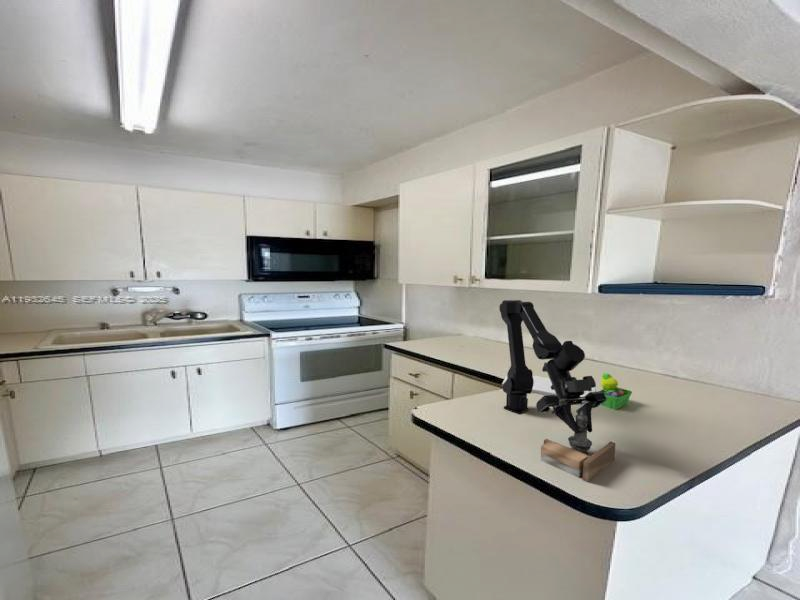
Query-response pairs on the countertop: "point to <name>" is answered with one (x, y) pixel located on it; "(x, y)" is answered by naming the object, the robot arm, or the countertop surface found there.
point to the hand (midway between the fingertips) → (584, 432)
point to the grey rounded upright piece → (580, 435)
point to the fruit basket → (613, 392)
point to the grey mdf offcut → (562, 466)
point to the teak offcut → (563, 455)
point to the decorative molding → (546, 386)
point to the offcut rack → (595, 460)
